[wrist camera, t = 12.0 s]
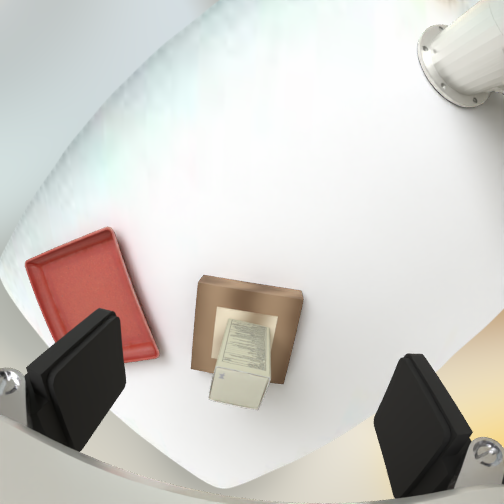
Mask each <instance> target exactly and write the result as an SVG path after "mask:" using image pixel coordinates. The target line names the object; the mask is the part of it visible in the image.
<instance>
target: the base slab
mask: <svg viewBox="0 0 504 504" xmlns="http://www.w3.org/2000/svg"><path fill="white" fill-rule="evenodd" d="M303 300H304V299H303V295H302V291H301V290H294V289H288V288H281V287H275V286H268V285H262V284H256V283H249V282H243V281H237V280H231V279H225V278H219V277H213V276H207V275H203V276H202V278H201V279H200V280H199V282H198V288H197V298H196V309H195V321H194V333H193V346H192V360H191V369H194V370H199V371H204V372H209V373H214V370H215V366H216V362H217V359H218V355H219V351H220V347H221V344H222V340H223V337H224V333H225V329H226V326H227V322H228V319H235V320H240V321H244V322H249V323H253V324H257V325H261V326H266V327H269V328H270V354H271V380H270V383H277V384H284V380H285V376H286V372H287V368H288V364H289V360H290V356H291V352H292V348H293V344H294V340H295V335H296V331H297V327H298V322H299V318H300V314H301V309H302V304H303Z"/></svg>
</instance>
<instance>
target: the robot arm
mask: <svg viewBox="0 0 504 504" xmlns="http://www.w3.org/2000/svg"><path fill="white" fill-rule="evenodd" d="M418 56H419V61H420V64H421V67H422V69H423V71H424V73H425V75H426V76H427V78H428V80H429V81H430V83H431V84H432V85H433V86H434V88H435V89H436V90H437V91H438V92H439V93H440V94H441V95H442V96H444V97H445V98H446V99H448V100H449V101H451V102H452V103H454V104H456V105H459V106H462V107H469V108H470V107H476V106H478V105H481V104H483V103H484V102H485V101H486V100H487V99H488V97H489V95H490V92H492V91H495V92H496V93H498V92H501V93H502V94H503V95H504V0H480V1H479V2H478V3H476V4H475V5H474V6H473V7H471V8H470V9H469V10H468V11H466V12H465V13H464V14H463V15H461V16H460V17H459V18H458V19H456V20H455V21H454V22H453V23H452V24H450V25H449V26H447V25H434V26H431V27H429V28H427V29H426V30H425V31H424V32H423V33H422V35H421V36H420V38H419V41H418ZM26 369H27V372H28V373H27V374H26V375H25V376H23V374H22V373H21V372H20V371H18V370H16V369H13V368H1V369H0V504H316V503H288V502H274V501H263V500H253V499H245V498H238V497H231V496H225V495H219V494H214V493H208V492H203V491H199V490H194V489H189V488H185V487H181V486H177V485H173V484H169V483H165V482H162V481H158V480H155V479H151V478H148V477H144V476H141V475H138V474H135V473H132V472H129V471H126V470H123V469H121V468H118V467H115V466H112V465H110V464H107V463H105V462H102V461H99V460H97V459H94V458H92V457H90V456H88V455H85V454H83V453H80V451H81V450H82V449H83V448H84V446H85V444H86V443H87V442H88V440H89V439H90V437H91V436H92V434H93V433H94V431H95V430H96V428H97V427H98V426H99V424H100V423H101V421H102V420H103V418H104V417H105V415H106V414H107V412H108V411H109V410H110V408H111V407H112V405H113V404H114V402H115V401H116V399H117V398H118V397H119V395H120V394H121V392H122V391H123V389H124V388H125V384H126V375H125V366H124V357H123V347H122V335H121V322H120V318H119V317H117V316H116V313H115V312H114V311H110V310H106V309H102V308H98V309H97V310H95V311H94V312H93V313H92V314H90V315H89V316H88V317H87V318H85V319H84V320H83V321H82V322H80V323H79V324H78V325H77V326H75V327H74V328H73V329H72V330H70V331H69V332H68V333H67V334H66V335H64V336H63V337H62V338H61V339H59V340H58V341H57V342H56V343H55V344H53V345H52V346H51V347H50V348H49V349H47V350H46V351H45V352H44V353H43V354H41V355H40V356H39V357H38V358H37V359H36V360H34V361H33V362H32V363H31V364H30V365H29V366H27V367H26ZM374 427H375V431H376V434H377V437H378V441H379V444H380V448H381V451H382V455H383V458H384V462H385V465H386V469H387V473H388V477H389V480H390V484H391V488H392V492H393V495H394V497H395V498H396V499H390V500H382V501H381V500H380V501H370V502H356V503H325V504H504V448H503V447H502V446H501V445H500V444H499V443H498V442H497V441H495V440H493V439H491V438H487V437H479V438H476V439H474V440H473V441H472V442H471V440H470V438H469V437H470V436H471V434H472V433H473V432H472V430H471V429H470V427H469V425H468V423H467V422H466V420H465V419H464V417H463V415H462V414H461V412H460V410H459V409H458V407H457V406H456V404H455V402H454V401H453V399H452V398H451V396H450V395H449V393H448V391H447V390H446V388H445V387H444V385H443V384H442V382H441V380H440V379H439V377H438V376H437V374H436V373H435V371H434V370H433V368H432V367H431V365H430V364H429V363H428V361H427V360H426V358H425V357H424V355H423V354H406V355H405V356H404V358H400V360H399V361H398V364H397V366H396V369H395V371H394V374H393V376H392V379H391V381H390V384H389V386H388V388H387V390H386V393H385V395H384V397H383V400H382V402H381V404H380V406H379V408H378V410H377V412H376V415H375V417H374ZM317 504H322V503H317ZM323 504H324V503H323Z"/></svg>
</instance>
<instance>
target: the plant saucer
mask: <svg viewBox="0 0 504 504" xmlns="http://www.w3.org/2000/svg"><path fill="white" fill-rule="evenodd" d="M25 268H26V271H27V274H28V277H29V280H30V283H31V285H32V288H33V291H34V294H35V296H36V299H37V301H38V304H39V306H40V309H41V311H42V314H43V316H44V319H45V321H46V323H47V326H48V328H49V330H50V332H51V335H52V337H53V339H54V341H55V343H56V342H57V341H58V340H59V339H61V338H62V337H63V336H64V335H66V334H67V333H68V332H69V331H70V330H72V329H73V328H74V327H75V326H77V325H78V324H79V323H80V322H82V321H83V320H84V319H85V318H87V317H88V316H89V315H90V314H92V313H93V312H94V311H95V310H97V309H98V308H102V309H106V310H110V311H114V312H115V313H116V316H117V317H119V318H120V322H121V335H122V347H123V357H124V363H128V362H136V361H143V360H150V359H156V358H158V357H159V356H160V352H159V349H158V347H157V344H156V342H155V340H154V337H153V335H152V333H151V330H150V328H149V326H148V323H147V321H146V318H145V316H144V313H143V311H142V308H141V306H140V303H139V300H138V298H137V295H136V293H135V290H134V287H133V285H132V282H131V279H130V276H129V274H128V271H127V268H126V265H125V262H124V259H123V256H122V253H121V250H120V247H119V244H118V241H117V238H116V235H115V233H114V231H113V229H112V228H111V227H104V228H102V229H100V230H97V231H94V232H92V233H89V234H87V235H85V236H82V237H80V238H77V239H74V240H72V241H70V242H68V243H65V244H63V245H61V246H58V247H55V248H53V249H51V250H49V251H46V252H44V253H42V254H40V255H37V256H35V257H33V258H30V259H28V260H26V262H25Z"/></svg>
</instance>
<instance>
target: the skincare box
mask: <svg viewBox="0 0 504 504" xmlns="http://www.w3.org/2000/svg"><path fill="white" fill-rule="evenodd" d="M270 380H271V354H270V328H269V327H266V326H261V325H257V324H253V323H249V322H244V321H240V320H235V319H228V322H227V326H226V329H225V333H224V337H223V340H222V344H221V347H220V351H219V355H218V359H217V362H216V366H215V370H214V374H213V378H212V382H211V386H210V392H209V400H211V401H215V402H219V403H223V404H228V405H232V406H237V407H242V408H248V409H254V410H258V409H259V407H260V405H261V403H262V401H263V398H264V396H265V393H266V391H267V388H268V386H269V383H270Z"/></svg>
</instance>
